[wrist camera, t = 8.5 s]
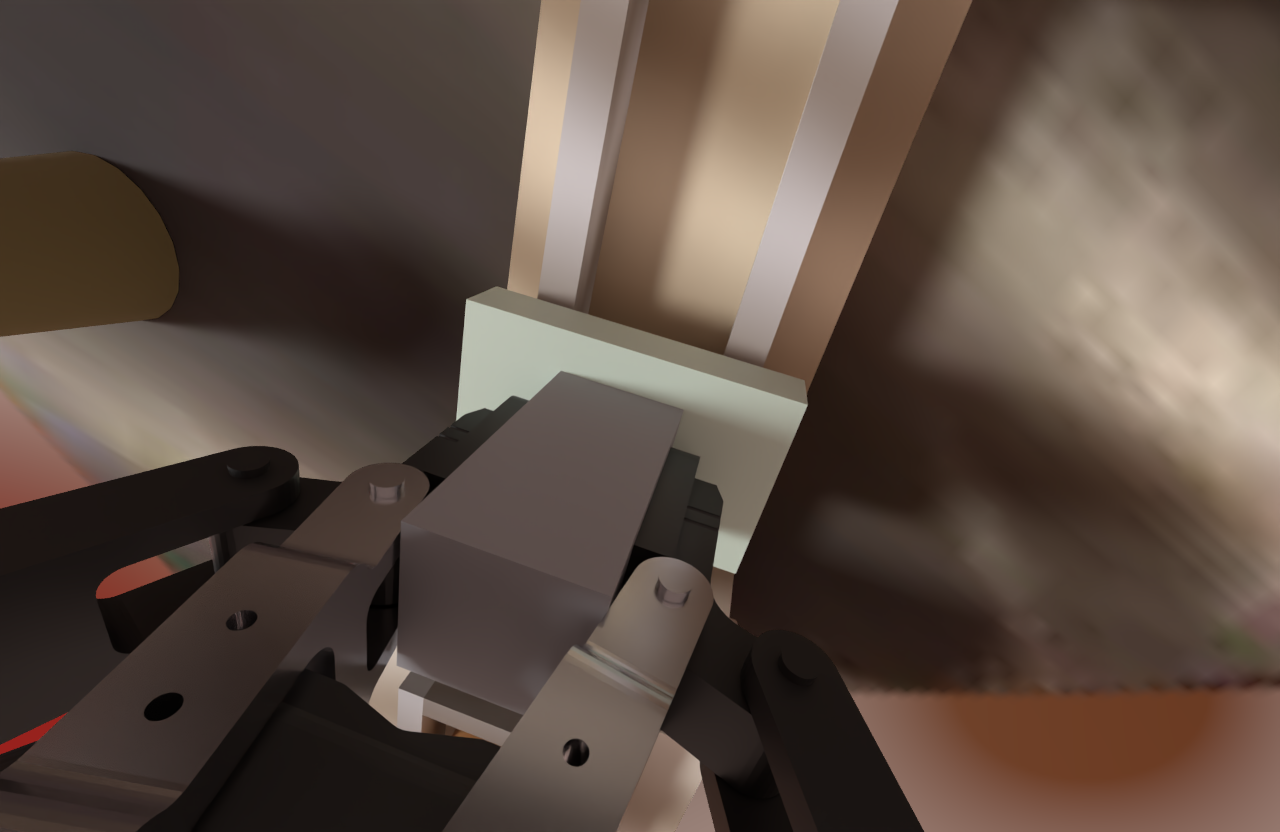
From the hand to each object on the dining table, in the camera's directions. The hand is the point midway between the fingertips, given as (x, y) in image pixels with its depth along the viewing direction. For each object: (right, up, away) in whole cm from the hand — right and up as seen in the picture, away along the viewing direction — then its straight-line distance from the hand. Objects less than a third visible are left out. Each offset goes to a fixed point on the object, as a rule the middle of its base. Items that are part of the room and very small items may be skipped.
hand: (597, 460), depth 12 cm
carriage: (+1, +1, +2) cm, 2 cm away
